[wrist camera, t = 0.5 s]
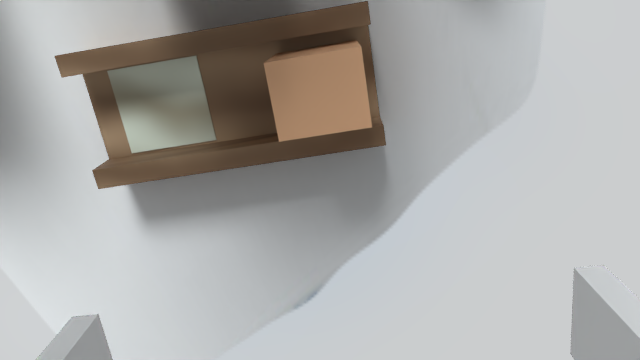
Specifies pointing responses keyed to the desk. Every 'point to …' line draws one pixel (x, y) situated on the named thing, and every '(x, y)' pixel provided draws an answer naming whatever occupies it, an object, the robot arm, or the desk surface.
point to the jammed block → (318, 90)
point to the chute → (210, 96)
